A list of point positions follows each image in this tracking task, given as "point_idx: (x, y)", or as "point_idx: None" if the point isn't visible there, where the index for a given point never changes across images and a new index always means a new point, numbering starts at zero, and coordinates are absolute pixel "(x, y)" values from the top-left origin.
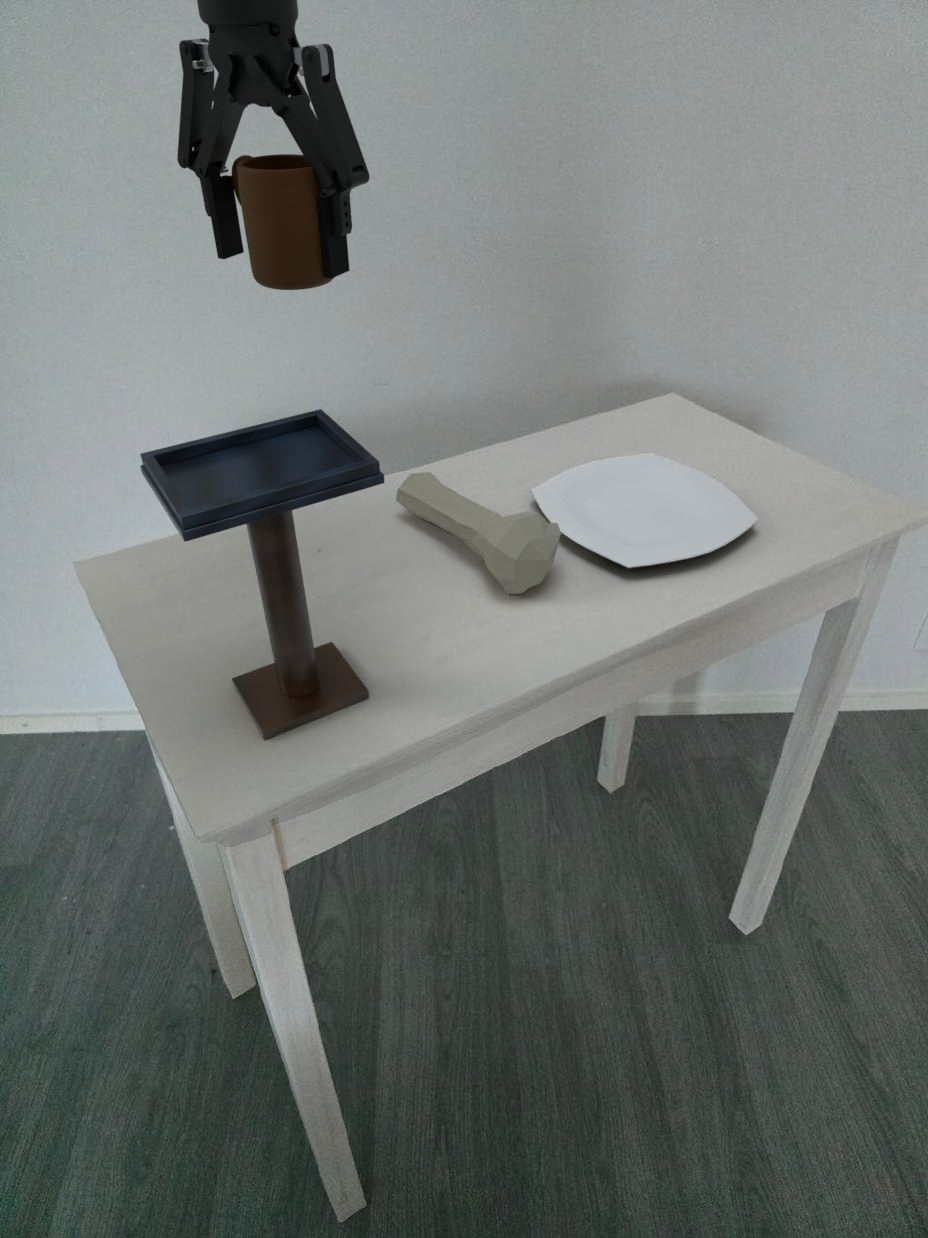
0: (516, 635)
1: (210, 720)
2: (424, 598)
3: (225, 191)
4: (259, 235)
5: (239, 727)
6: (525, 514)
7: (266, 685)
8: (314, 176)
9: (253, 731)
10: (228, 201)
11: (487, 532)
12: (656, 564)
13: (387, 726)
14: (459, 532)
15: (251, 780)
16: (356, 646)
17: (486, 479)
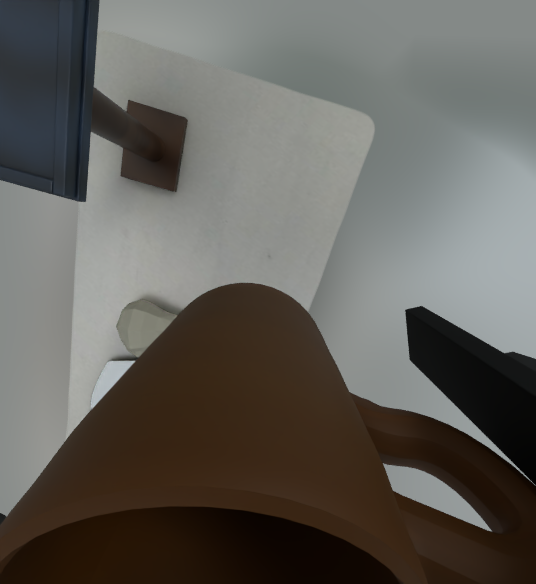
0: (116, 278)
1: (169, 88)
2: (179, 267)
3: (516, 434)
4: (208, 315)
5: (152, 98)
6: (135, 342)
7: (164, 130)
8: None
9: (143, 103)
10: (490, 416)
11: (157, 320)
12: (101, 373)
13: (97, 168)
14: None
15: (107, 74)
16: (169, 204)
17: None
